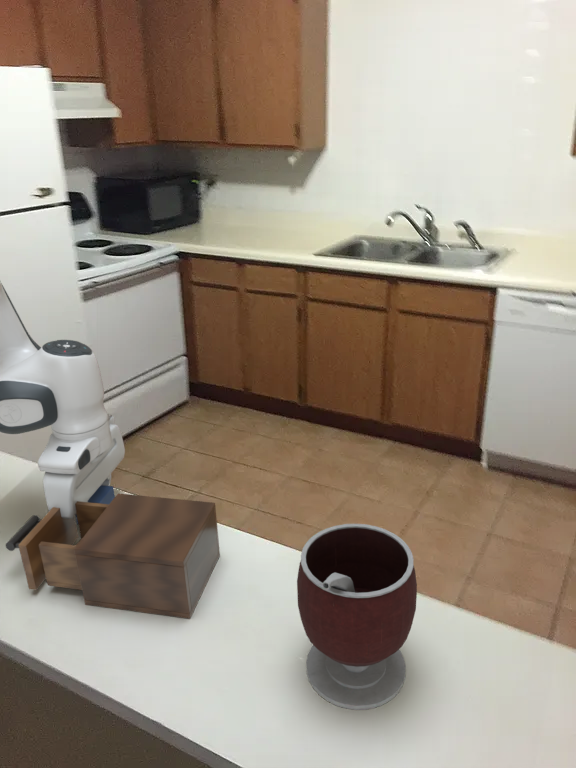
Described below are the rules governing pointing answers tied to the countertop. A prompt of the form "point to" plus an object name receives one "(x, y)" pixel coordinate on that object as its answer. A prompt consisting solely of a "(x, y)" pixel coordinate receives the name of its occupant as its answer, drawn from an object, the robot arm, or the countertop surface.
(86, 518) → the drawer
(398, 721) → the countertop surface
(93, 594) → the cabinet
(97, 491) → the block
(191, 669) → the countertop surface
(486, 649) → the countertop surface
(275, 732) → the countertop surface
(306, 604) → the mate gourd
